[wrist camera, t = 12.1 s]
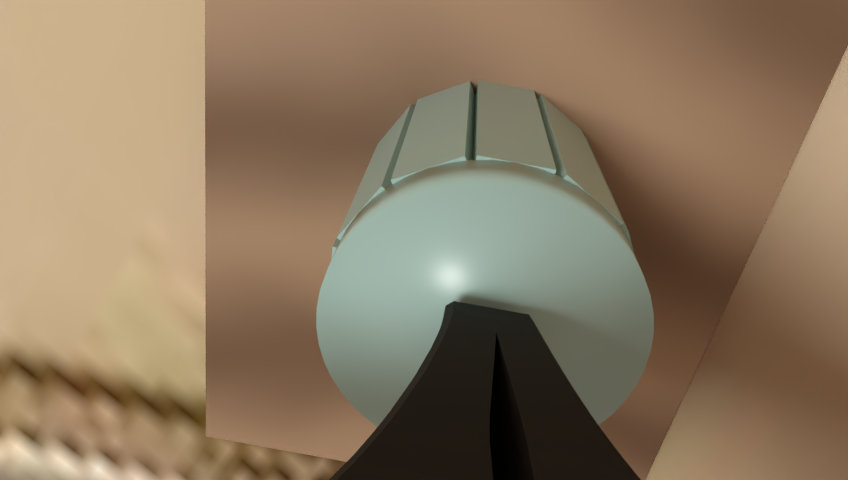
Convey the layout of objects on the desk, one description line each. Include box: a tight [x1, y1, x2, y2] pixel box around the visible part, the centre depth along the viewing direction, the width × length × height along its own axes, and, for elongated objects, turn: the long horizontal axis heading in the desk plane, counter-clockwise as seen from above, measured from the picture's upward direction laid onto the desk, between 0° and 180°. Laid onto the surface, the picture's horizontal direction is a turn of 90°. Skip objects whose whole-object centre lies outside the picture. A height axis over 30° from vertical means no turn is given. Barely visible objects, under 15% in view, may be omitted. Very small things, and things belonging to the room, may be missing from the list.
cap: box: [316, 80, 654, 427], centre depth 13 cm, size 6×6×6 cm
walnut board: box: [205, 0, 848, 480], centre depth 16 cm, size 20×14×1 cm
